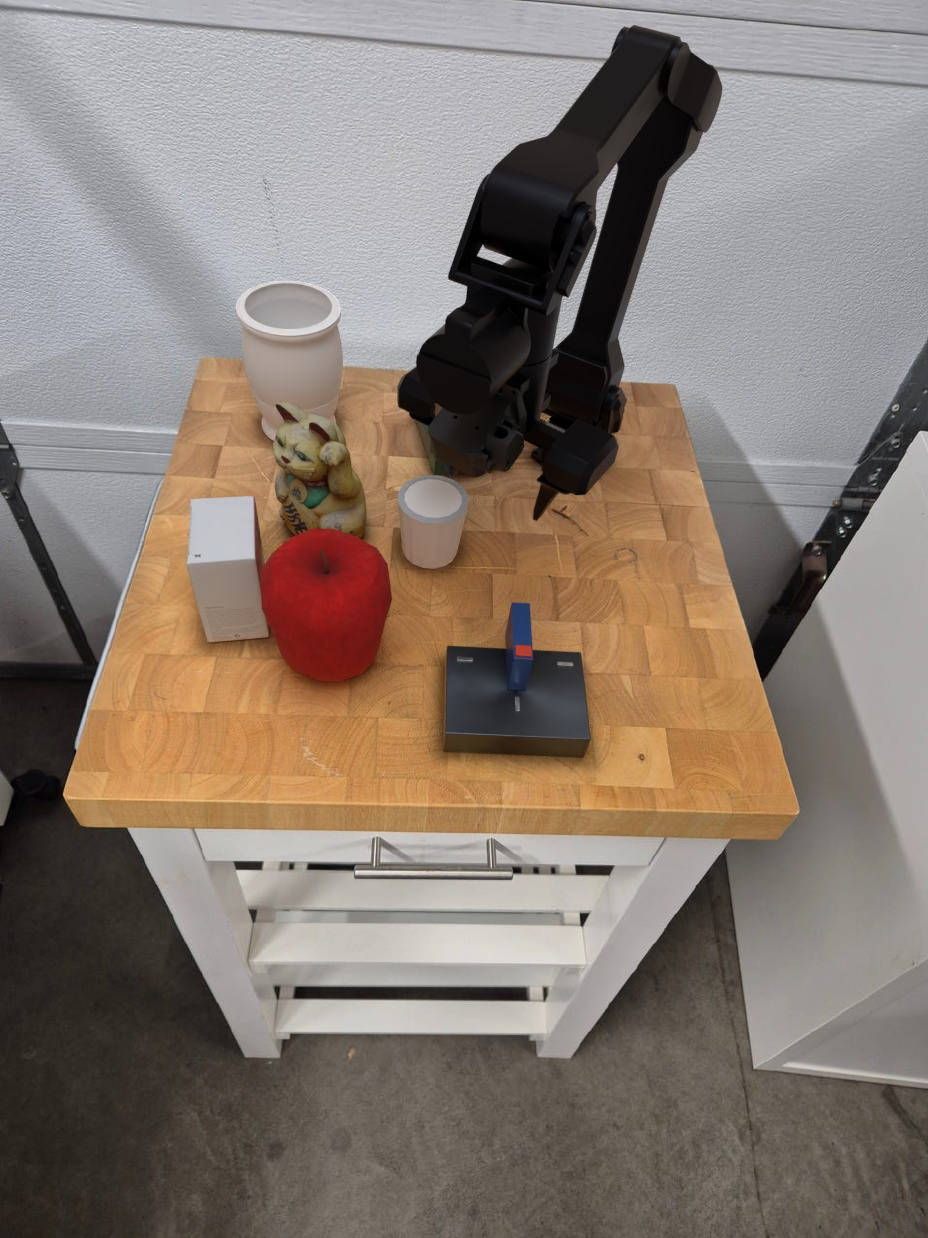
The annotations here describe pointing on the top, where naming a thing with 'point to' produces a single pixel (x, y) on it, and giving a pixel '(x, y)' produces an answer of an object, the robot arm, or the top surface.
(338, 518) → the lucky beckoning cat
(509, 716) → the tap plate
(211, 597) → the small box
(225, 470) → the top surface
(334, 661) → the apple
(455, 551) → the white cup
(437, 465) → the button base
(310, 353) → the jar
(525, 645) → the tap handle
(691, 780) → the top surface
